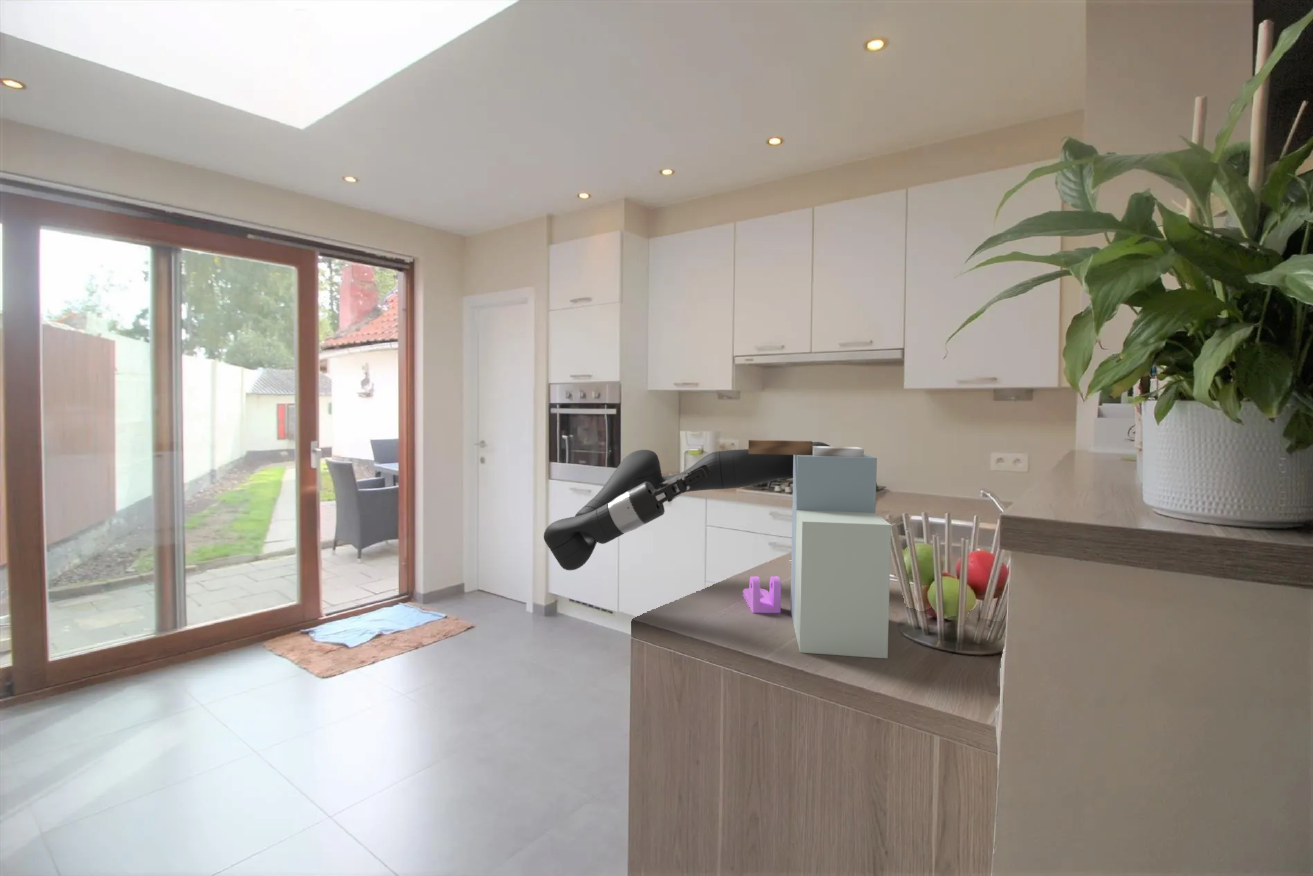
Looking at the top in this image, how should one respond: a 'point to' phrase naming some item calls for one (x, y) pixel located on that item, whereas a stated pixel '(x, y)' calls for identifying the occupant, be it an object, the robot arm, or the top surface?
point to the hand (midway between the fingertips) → (706, 470)
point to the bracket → (763, 596)
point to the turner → (801, 448)
